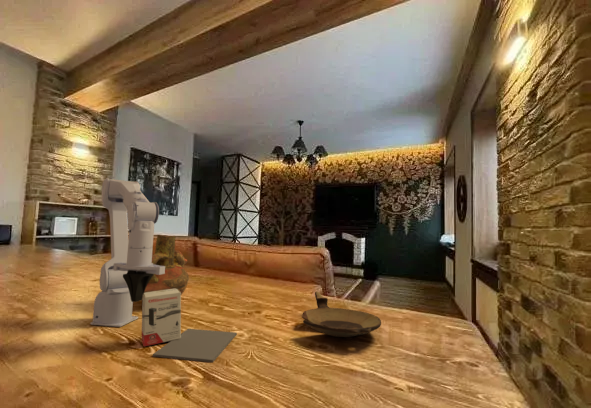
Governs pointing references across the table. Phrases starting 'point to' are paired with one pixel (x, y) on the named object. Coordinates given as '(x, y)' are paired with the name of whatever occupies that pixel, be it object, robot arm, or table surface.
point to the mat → (197, 345)
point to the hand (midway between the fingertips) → (136, 300)
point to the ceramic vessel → (168, 267)
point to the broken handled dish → (339, 320)
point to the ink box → (161, 316)
